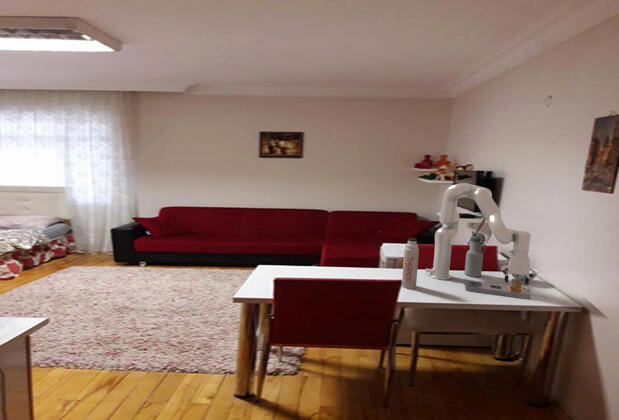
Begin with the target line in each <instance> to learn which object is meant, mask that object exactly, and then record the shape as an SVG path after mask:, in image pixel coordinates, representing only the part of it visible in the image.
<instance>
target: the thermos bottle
mask: <svg viewBox="0 0 619 420" xmlns="http://www.w3.org/2000/svg"><path fill="white" fill-rule="evenodd" d="M417 241H418V239H417V238H412V237H411V238H408V239H407V243H406V244H405V247H404V250H403V265H402V275H401V276H402V278H401V282H402V281H403V285H402V284H401V287H402V288H404V289H407V290H415V289H416V288H417V280H418V279H417V278H418V269H419V268H418V267H419V255H420V249H419V245H418V242H417Z"/></svg>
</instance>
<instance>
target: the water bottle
mask: <svg viewBox="0 0 619 420" xmlns="http://www.w3.org/2000/svg"><path fill="white" fill-rule="evenodd" d="M469 241H470V242H469V243H470V245H469V250H467V251H466V254H465V265H464V275H466V276H467V277H470V278H480V277H481V276H482V270H483V261H484V260H483V259H484V254H483V253H485V252H486V247H487V245H486V244H485V242H486V236H485V234H484V233H482V232H479V231H475V230H473V231H471V236H470V239H469ZM482 246H483V250H482Z"/></svg>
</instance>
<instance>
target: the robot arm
mask: <svg viewBox="0 0 619 420" xmlns="http://www.w3.org/2000/svg"><path fill="white" fill-rule="evenodd" d="M492 196H493V194H492V191H491V190H490V189H489V188H487V187H483V186H479V185H475V184H471V183H468V182H463V183H462V182H460V183H456V184H454V185H451V186H449V187H448V188H447V189H445V191H444V192H443V196H442V197H443V198H442V202H441V208H440V214H439V223H440V224H441V225H442V226H441V227H440V228H438V229H437V230H436V231H435V234H434V254H433V255H434V256H433V257H434V258H433V264H432V266H433V267H432V268H427V267H426V268H425V269H424V270H425V272H427V273H430V274H429V276H430V277H432V278H433V279H435V280H436V279H437V280H442V281H444V280H445V281H448V280H451V279H452V275H450V265H451V256H452V255H451V254H452V241H453V240H454V239H455V238H456V237H457V234H458V230H459V224H460V214H459V212H458V210H457V207H458V200H459V199H462V198H468V199H471V200H474V203H475V204H476V206H478V209H479V210H480V212H481V213H482V214H483V216H484V218H485V221H486V223H487V225H488V227H489V229H490V231H491V232H492V234H493V237H495V239H496V240H497V242H498V243H500V244H502V245H508V244H510V243H513V245H512V250H509V254H510V255H509V258H508V262H507V264H505V265H502V266H500V269H501V272H502V274H504V281H505V283H506V284H508V283H509V278H510V277H509V275H512V274H517V275H526V277H525V283H524V285H525V286H528V285H529V284H530V281H529V279H530V278H531V277H533V276H534V274H535V273H536V271H535V270H536V269H535V270H533V269H534V268H533V269H531V268H532V267H531V259H530V257H529V251H530V243H531V233H530V232H528V231H523V230H516V229H512V228H507V226H506V225H505V223H504V221H503V219H502V213H501V209H500V208H499V207H498V205H497V203H496V202H495V201H494V199H493V197H492ZM505 269H507V270H506V271H505ZM529 270H530V271H532V273H531V274H529Z"/></svg>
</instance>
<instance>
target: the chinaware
mask: <svg viewBox="0 0 619 420" xmlns="http://www.w3.org/2000/svg"><path fill="white" fill-rule="evenodd" d="M530 268H531V269H533V270H535V271H536V273H535V274H534V276H533V277H531V278H530V279H529V282H531V281H533V280H534V279H535V278H536V277H537V275H538V273H539V272H538V270H537V269H535V268H532V267H530ZM531 273H532V271H530V270H529V274H531ZM511 277H513V279H520V280H521V282H522V283H521V284H525V277H526V275H517V274H511Z"/></svg>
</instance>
